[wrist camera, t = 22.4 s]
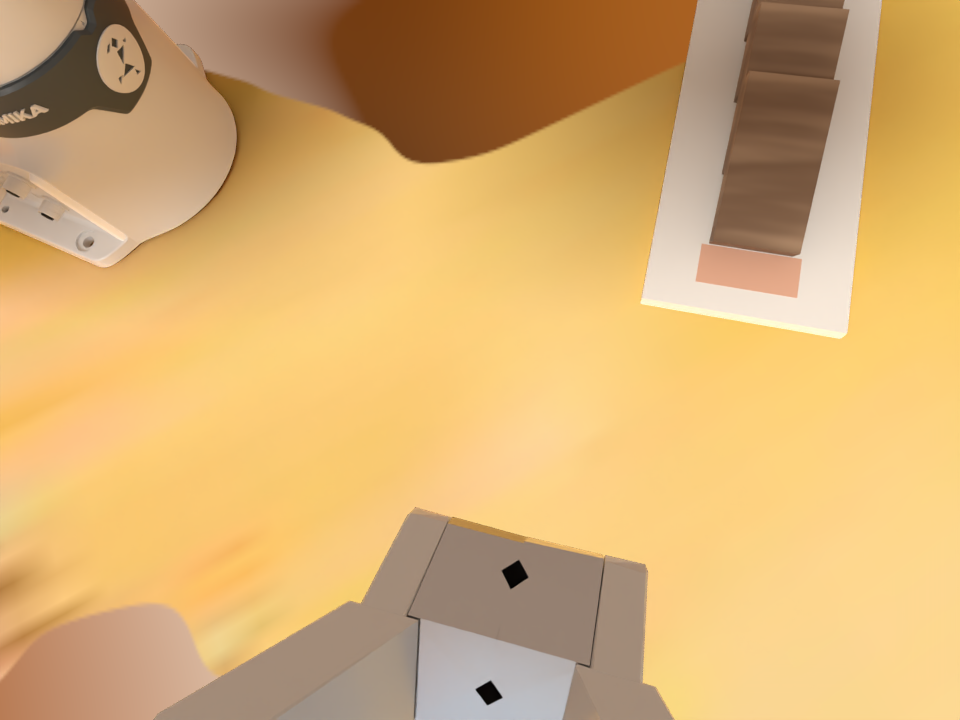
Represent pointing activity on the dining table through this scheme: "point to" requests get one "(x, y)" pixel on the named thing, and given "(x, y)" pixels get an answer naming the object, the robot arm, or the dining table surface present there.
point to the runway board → (698, 178)
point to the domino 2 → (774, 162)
